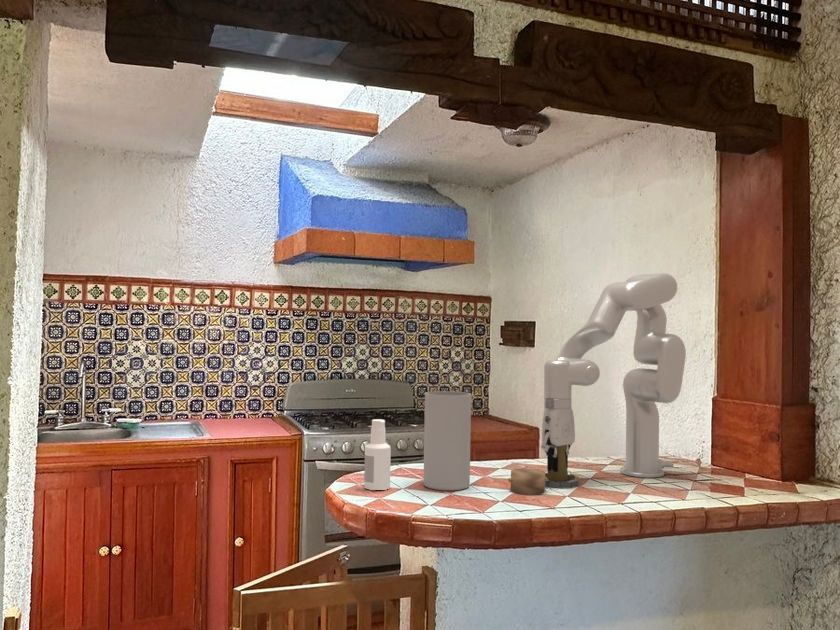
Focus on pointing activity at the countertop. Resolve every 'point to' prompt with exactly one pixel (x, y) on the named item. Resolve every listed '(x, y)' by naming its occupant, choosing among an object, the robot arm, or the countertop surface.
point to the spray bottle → (377, 458)
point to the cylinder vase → (447, 440)
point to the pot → (527, 481)
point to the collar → (564, 482)
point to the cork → (559, 466)
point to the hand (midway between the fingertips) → (557, 469)
